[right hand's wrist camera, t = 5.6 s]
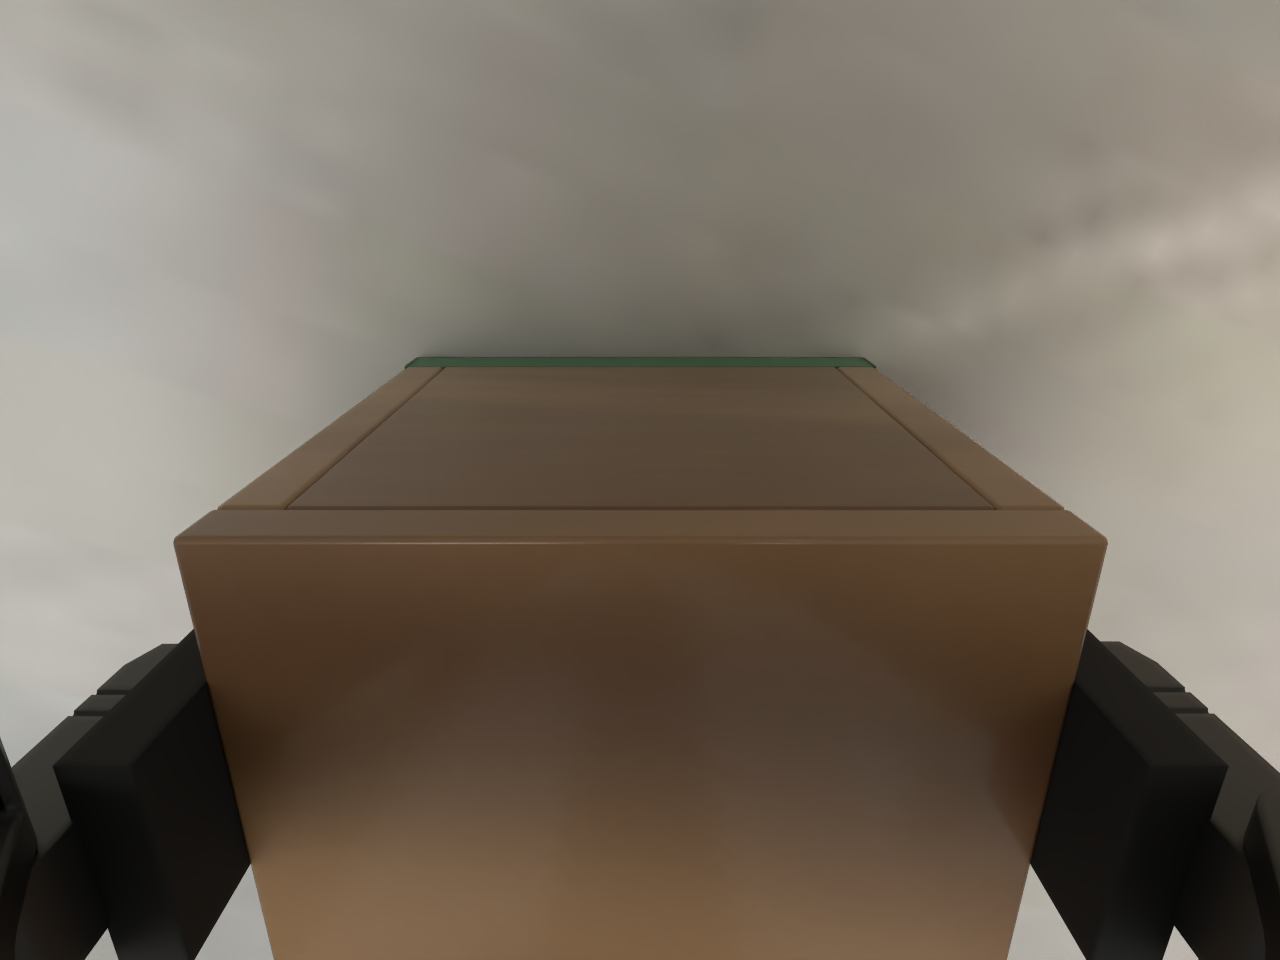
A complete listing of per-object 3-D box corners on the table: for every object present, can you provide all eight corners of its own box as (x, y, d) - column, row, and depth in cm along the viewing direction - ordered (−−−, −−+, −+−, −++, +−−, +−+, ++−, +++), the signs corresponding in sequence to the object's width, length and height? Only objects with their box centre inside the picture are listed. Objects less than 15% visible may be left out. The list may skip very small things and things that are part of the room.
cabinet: (794, 1012, 24) (882, 1479, 15) (485, 1012, 24) (397, 1479, 15) (864, 357, 16) (1113, 537, 8) (416, 357, 16) (167, 537, 8)
